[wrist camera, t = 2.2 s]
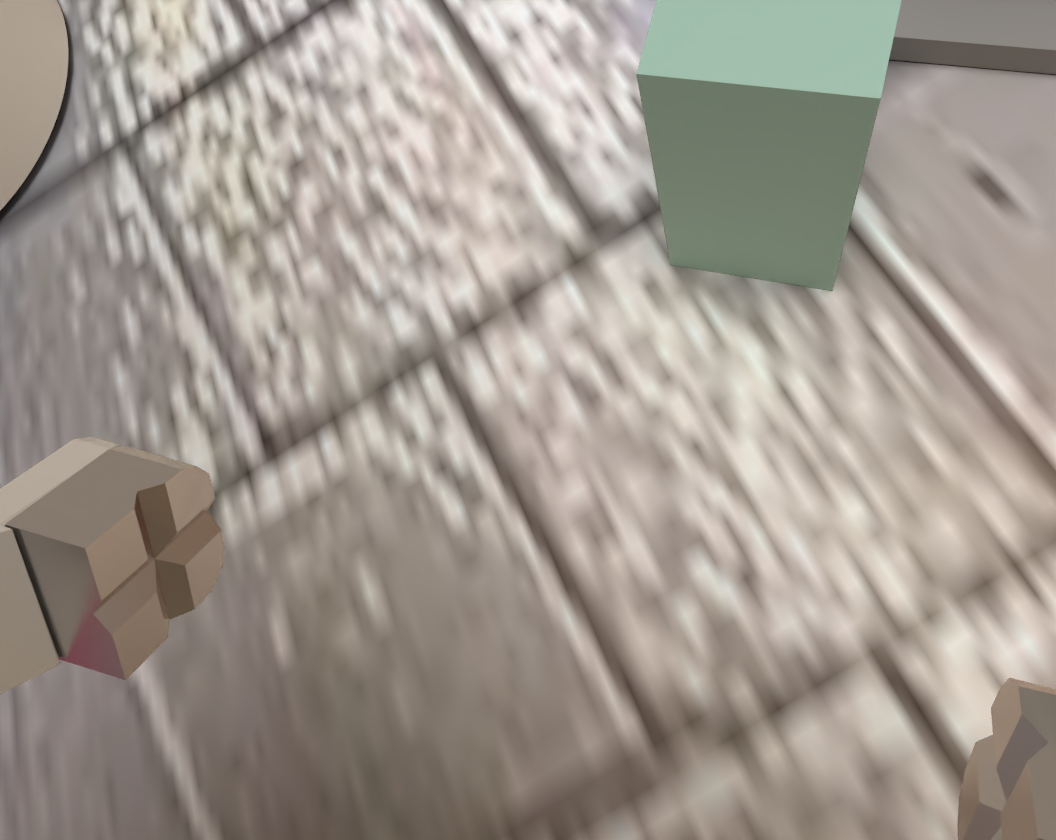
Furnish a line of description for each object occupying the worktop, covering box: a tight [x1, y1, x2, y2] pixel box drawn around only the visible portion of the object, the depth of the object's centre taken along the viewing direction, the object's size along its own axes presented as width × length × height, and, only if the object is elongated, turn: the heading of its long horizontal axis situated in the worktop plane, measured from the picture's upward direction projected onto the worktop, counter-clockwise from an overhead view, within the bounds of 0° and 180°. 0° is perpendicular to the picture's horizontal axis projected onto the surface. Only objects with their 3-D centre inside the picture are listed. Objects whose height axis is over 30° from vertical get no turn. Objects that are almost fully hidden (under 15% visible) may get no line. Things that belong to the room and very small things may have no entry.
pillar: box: [637, 0, 902, 291], centre depth 21 cm, size 4×4×9 cm
